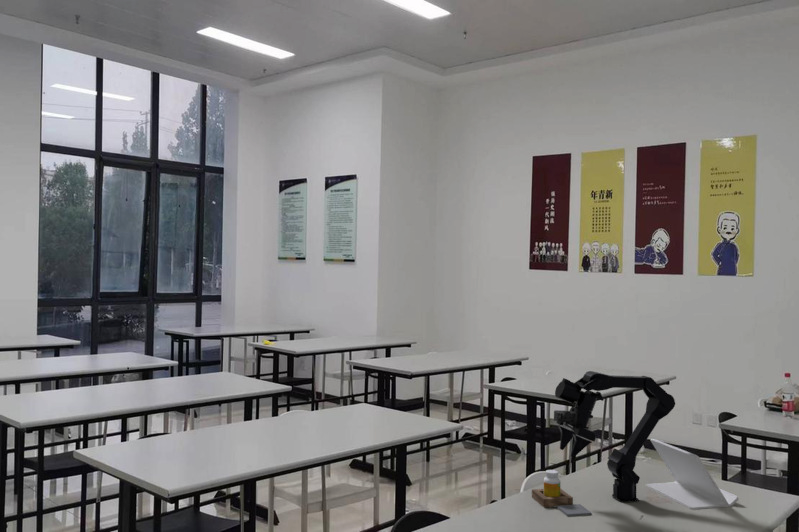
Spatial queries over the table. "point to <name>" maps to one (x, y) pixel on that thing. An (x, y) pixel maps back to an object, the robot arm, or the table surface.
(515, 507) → the table surface
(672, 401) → the robot arm
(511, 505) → the table surface
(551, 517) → the table surface
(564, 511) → the rubber mat
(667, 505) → the table surface
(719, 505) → the tablet stand
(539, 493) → the walnut collar
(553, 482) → the supplement bottle
